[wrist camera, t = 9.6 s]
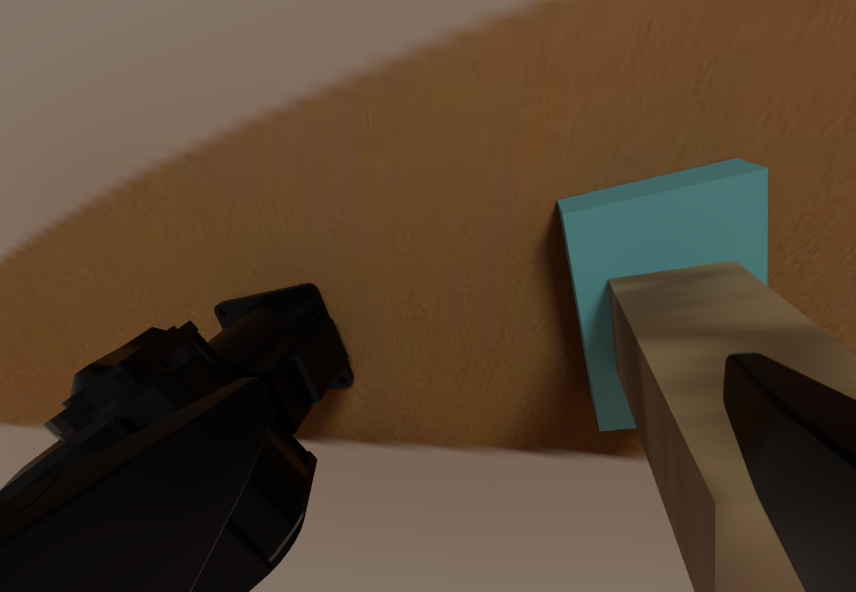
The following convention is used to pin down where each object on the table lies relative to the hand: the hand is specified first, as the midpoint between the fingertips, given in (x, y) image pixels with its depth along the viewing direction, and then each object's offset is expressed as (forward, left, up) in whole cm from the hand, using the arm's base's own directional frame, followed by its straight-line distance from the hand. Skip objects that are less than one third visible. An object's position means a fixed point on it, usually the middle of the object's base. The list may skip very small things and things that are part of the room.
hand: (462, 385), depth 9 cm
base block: (+6, -6, -13) cm, 16 cm away
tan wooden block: (+6, -6, -11) cm, 14 cm away
